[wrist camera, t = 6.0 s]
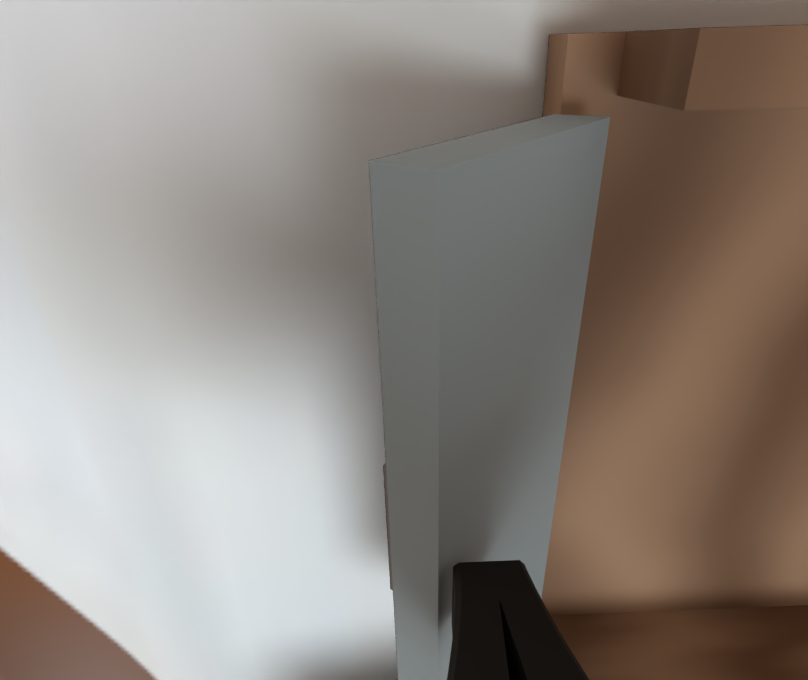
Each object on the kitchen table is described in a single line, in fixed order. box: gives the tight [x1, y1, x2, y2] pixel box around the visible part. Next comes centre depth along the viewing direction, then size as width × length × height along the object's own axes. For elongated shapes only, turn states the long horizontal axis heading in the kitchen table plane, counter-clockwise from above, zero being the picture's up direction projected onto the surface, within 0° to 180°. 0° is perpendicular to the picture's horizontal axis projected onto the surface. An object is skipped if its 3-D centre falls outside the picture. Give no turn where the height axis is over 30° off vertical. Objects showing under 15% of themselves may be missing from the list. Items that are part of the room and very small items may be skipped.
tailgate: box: [369, 114, 610, 680], centre depth 14 cm, size 2×17×6 cm
